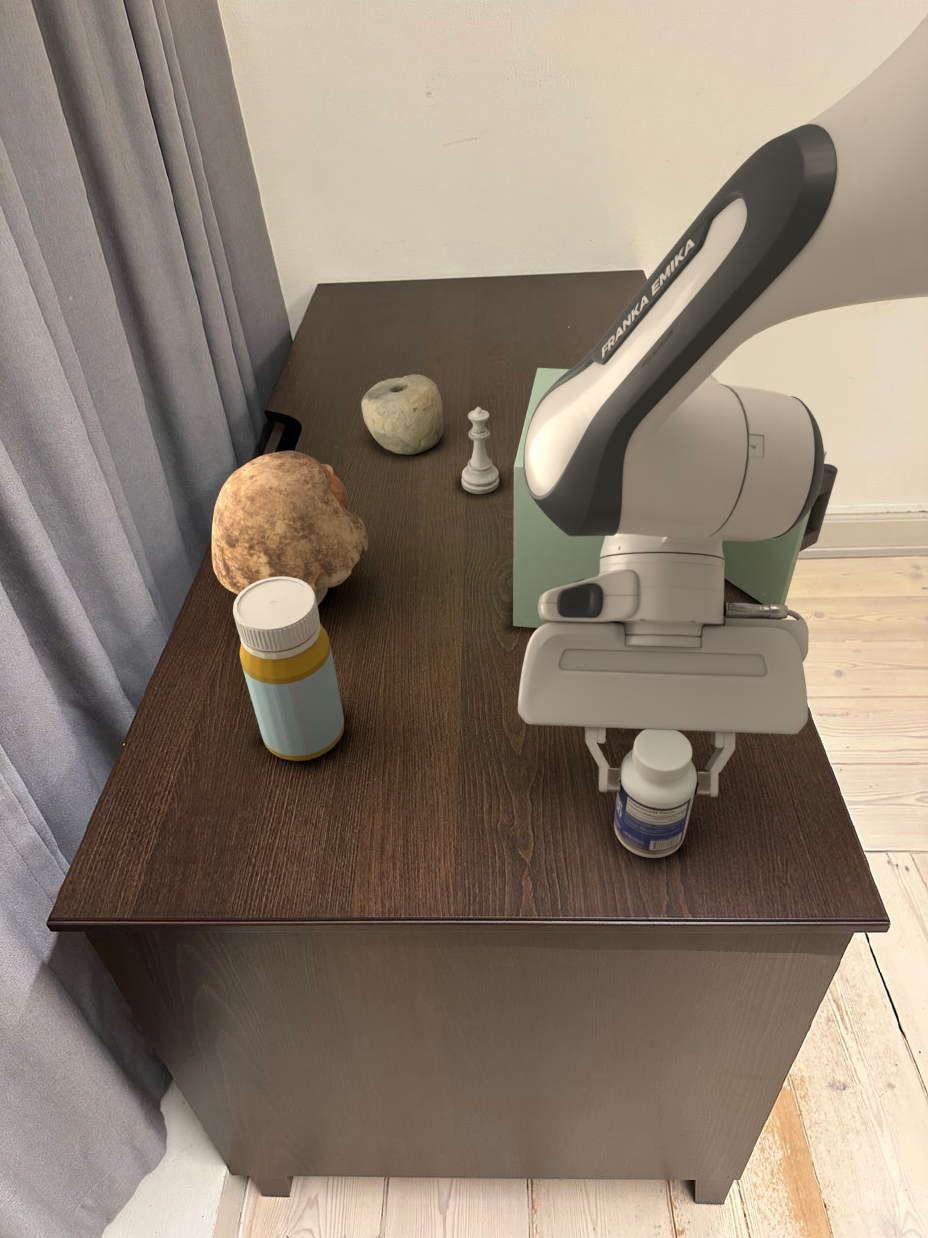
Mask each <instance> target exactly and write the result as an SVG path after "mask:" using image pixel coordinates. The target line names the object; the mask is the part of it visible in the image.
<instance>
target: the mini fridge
mask: <svg viewBox="0 0 928 1238" xmlns="http://www.w3.org/2000/svg"><path fill="white" fill-rule="evenodd" d="M570 369H571V368H551V367H548V368H547V367H537V369H536V372H535V377H534V380H533V386H532V389H531V394H530V399H529V401H528V407H527V411H526V415H525V418H524V423H523V428H522V431H521V435H520V440H519V444H518V448H517V454H516V456H515V459H514V465H513V570H512V571H513V583H512V588H513V589H512V591H513V593H512V594H513V596H512V597H513V599H512V600H513V601H512V604H513V605H512V609H513V610H512V612H513V613H512V624H513V625H512V626H514V627H522V628H533V629H538V628H539V627H540V626H542V625H544V624H546V622H544V621H542V620H541V619H540V617H539V613H538V602H539V599H540V597H541V595H542V594H544V593H545V592H547V591H549V590H551V589H554V588H558V587H561V586H565V585H568V584H572V583H574V582H575V581H578V580H582V579H590V578H593V577H597V576H598V574H600V553H601V549H602V546H603V543H604V539H605V536H568V535H567V534H565V533H564V532H563V531H562V530H561V529H560V528H558V527H557V526H556V525H555V524H554V523H553V522H552V521H551V520H550V519H549V518H548V517H547V516H546V515H545V514H544V512H543V511H542V510H541V509H540V508H539V506H538V505H537V504H536V503H535V501H534V500H533V498H532V497H531V495H530V494H529V492H528V490H527V488H526V484H525V480H524V473H523V454H524V445H525V439H526V435H527V430H528V427H529V423H530V420H531V418H532V415H533V413H534V410H535V408H536V406H537V404H538V403H539V401H540V399H541V398H542V397H543V395H544V394H545V393H546V392H547V391H548V389H549V388H550V387H551V386H552V385H553V384H554V383H555V382H556V381H557V380H558V379H559V378H560V377H561V376H563V375H564V374H565V373H566V372H567V371H568V370H570Z"/></svg>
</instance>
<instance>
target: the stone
mask: <svg viewBox="0 0 928 1238" xmlns="http://www.w3.org/2000/svg"><path fill="white" fill-rule="evenodd" d="M360 406H361V412H362V417H363V421H364V423H365V426H366V427H367V429H368V431H369V433H370V434H371V436H372V437H373V439H374V440H375V441H376V442H377V444H379V446H381V447H382V448H384V449H385V450H388V451H390V452H392V453H395V454H398V455H408V456H409V455H410V456H411V455H417V454H419V453H423V452H425V451H428V450H429V449H432V448H433V447H434V446H436V444H437V443H438V442H440V440H441V437H442V435H443V433H444V420H443V419H444V417H443V412H444V411H443V409H444V407H443V401H442V397H441V394H440V391H439V388H438V386H437V384H436V383H435V382H434V381H433V380H432V379H430V378H428V377H426V376H424V375H423V374H417V373H416V374H415V373H414V374H409V375H404V376H403V377H393V378H388V379H385V380H381V381H379V382H377V383H376V384H374V385H373V386H372V387H371V388H370V389H368V391H367V392H366V393H365V394H364V395H363V397H362V399H361V405H360Z"/></svg>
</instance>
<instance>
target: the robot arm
mask: <svg viewBox="0 0 928 1238" xmlns="http://www.w3.org/2000/svg"><path fill="white" fill-rule="evenodd" d="M927 297H928V13H927V14H926V15H925V17H924V18H923V19H922V20H921V22H920V23H919V24H918V25H917V26H916V27H915V29H913V31H911V33H910V34H909V35H908V36H907V38H905V39H904V41H903V42H902V43H901V44H900V45H899V46H898V47H896V49H895V50H894V51H893V52H892V53H891V54H890V55H889V56H888V57H887V58H886V59H885V60H884V61H883V62H882V63H881V64H880V65H878V66H877V67H876V68H875V69H874V70H873V71H872V72H871V73H870V74H869V75H867V76H866V78H864V79H863V80H862V81H861V82H859V84H857V85H856V86H855V87H854V88H853V89H851V90H850V91H849V92H848V93H846V94H845V95H844V96H843V97H842V98H840V99H839V100H837V101H836V102H835V103H834V104H832V105H830V106H829V107H828V108H827V109H825V110H824V111H822V112H821V113H819V114H818V115H817V116H815V117H814V118H812V119H810V121H808V122H806V123H805V124H802V125H800V126H797V127H795V128H792V129H791V130H789V131H786V132H785V133H782V134H780V135H778V136H776V137H774V138H772V139H771V140H768V141H767V142H766V143H764V144H763V145H762V146H761V147H759V148H758V149H757V150H756V151H755V152H753V153H752V154H751V155H750V156H749V157H748V158H747V159H746V160H745V161H744V162H743V163H742V164H741V165H740V166H739V167H738V168H737V169H736V171H734V173H732V175H731V176H729V178H728V180H726V182H725V183H724V184H723V185H722V186H721V187H720V189H719V190H717V192H716V193H715V195H713V197H712V198H711V199H710V201H708V203H707V204H706V205H705V207H704V208H703V209H702V210H701V211H700V213H698V215H697V216H696V218H695V219H694V220H693V221H692V222H691V224H690V225H689V226H688V227H687V229H686V230H685V231H684V233H683V234H682V235H681V236H680V237H679V239H678V240H677V241H676V242H675V244H674V246H672V248H671V249H670V250H669V252H668V253H667V254H666V255H665V257H664V258H663V259H662V260H661V262H660V263H659V264H658V265H657V267H656V268H655V269H654V270H653V272H652V273H651V274H650V276H649V277H648V278H647V280H646V281H645V282H644V283H643V284H642V285H641V287H640V288H639V289H638V291H637V292H636V293H635V294H634V295H633V297H632V298H631V299H630V301H629V302H628V303H627V305H625V307H624V309H623V310H622V311H621V312H620V313H619V315H618V316H617V318H616V319H615V320H614V321H613V322H612V324H611V325H610V326H609V327H608V329H607V330H606V331H605V332H604V333H603V335H602V336H601V338H599V340H598V341H597V342H596V343H595V345H594V346H593V347H592V349H590V351H589V352H588V353H587V354H586V355H585V356H584V357H582V358H581V359H580V360H579V361H578V362H577V363H576V364H575V365H573V366H571V368H569V369H570V370H568V371H567V372H566V373H565V374H564V375H563V376H561V377H560V378H559V379H558V380H557V381H556V382H555V383H554V384H553V385H552V386H551V387H550V388H549V389H548V391H547V392H546V393H545V394H544V395H543V397H542V398H541V399H540V401H539V403H538V404H537V406H536V408H535V410H534V413H533V415H532V418H531V420H530V423H529V427H528V430H527V435H526V439H525V445H524V454H523V473H524V480H525V484H526V488H527V490H528V492H529V494H530V495H531V497H532V498H533V500H534V501H535V503H536V504H537V505H538V506H539V508H540V509H541V510H542V511H543V512H544V514H545V515H546V516H547V517H548V518H549V519H550V520H551V521H552V522H553V523H554V524H555V525H556V526H557V527H558V528H560V529H561V530H562V531H563V532H564V533H565V534H567V535H568V536H605V539H604V543H603V546H602V549H601V553H600V574H598V576H597V577H593V578H590V579H582V580H578V581H575V582H574V583H572V584H568V585H565V586H561V587H558V588H554V589H551V590H549V591H547V592H545V593H544V594H542V595H541V597H540V599H539V602H538V613H539V617H540V619H541V620H542V621H544V622H546V624H544V625H542V626H540V627H539V628H536V629H535V630H534V632H533V633H532V635H531V636H530V638H529V640H528V642H527V645H526V648H525V653H524V658H523V663H522V667H521V674H520V680H519V690H518V700H517V713H518V715H519V717H520V718H521V719H522V720H523V721H524V722H525V724H527V725H530V726H553V727H555V726H557V727H581V728H584V743H585V745H586V746H587V748H588V750H589V752H590V753H591V756H592V757H593V759H594V761H595V763H596V764H597V766H598V790H599V792H600V793H616V794H617V793H620V791H621V784H620V782H619V780H620V778H621V765H613V764H609V763H608V761H607V760H606V757H605V756H604V754H603V751H602V750H601V748H600V746H599V744H605V743H606V735H607V729H608V728H610V729H611V728H612V729H631V730H632V729H633V730H634V729H635V730H645V729H662V730H676V731H688V732H709V744H710V745H711V746H712V747H714V748H716V749H715V750H714V752H713V754H712V755H711V757H710V759H709V760H708V762H707V764H706V765H705V767H704V768H695V769H696V773H697V783H696V789H695V794H694V796H695V797H704V798H705V797H708V798H718V796H719V773H721V772H722V770H723V769H724V767H725V766H726V764H727V762H728V761H729V760H730V758H731V757H732V755H733V753H734V752H735V750H736V734H737V733H740V734H741V733H742V734H765V735H766V734H767V735H797V734H798V733H799V732H800V731H801V730H802V729H803V728H804V726H806V724H807V723H808V720H809V709H808V708H809V705H808V704H809V703H808V692H807V690H808V689H807V682H806V674H805V669H804V661H805V660H806V658H807V656H808V653H809V632H810V631H809V627H808V624H807V621H806V620H805V619H804V618H803V617H802V615H801V614H799V613H798V612H796V611H794V610H792V609H789V608H788V605H786V604H785V605H783V604H767V605H764V604H756V603H751V602H750V603H749V602H732V601H728V602H726V601H725V578H724V563H725V561H724V560H725V559H724V554H723V549H722V543H723V541H741V542H754V541H760V540H765V539H770V538H778V537H781V536H783V535H784V534H786V533H787V532H789V531H790V530H791V529H793V528H794V527H795V526H796V525H797V524H798V523H799V522H800V521H801V520H802V519H803V518H804V517H805V516H806V515H807V514H808V512H809V511H810V509H811V508H812V506H813V505H814V503H815V501H816V499H817V497H818V494H819V491H820V488H821V485H822V480H823V473H824V464H825V460H824V451H825V448H824V441H823V436H822V432H821V430H820V427H819V424H818V422H817V420H816V418H815V416H814V415H813V414H814V413H812V411H811V410H810V408H809V407H808V405H806V404H805V402H804V401H802V400H801V399H800V398H799V397H797V396H794V395H788V394H786V393H782V392H779V391H775V390H772V389H764V388H757V387H749V386H741V385H732V384H724V383H721V382H720V381H719V380H718V379H717V378H716V377H715V376H714V375H713V373H714V372H715V371H716V370H717V369H718V368H719V367H720V366H721V365H722V364H723V363H724V362H725V361H726V360H727V359H728V358H729V357H730V356H731V355H732V354H733V353H734V352H735V351H736V350H737V349H738V348H739V347H740V346H741V345H743V344H744V343H746V342H747V341H748V340H750V339H751V338H753V337H754V336H756V335H758V334H760V333H762V332H764V331H766V330H768V329H769V328H773V327H774V326H776V325H779V324H782V323H784V322H787V321H790V320H792V319H796V318H800V317H803V316H806V315H807V316H808V315H810V314H811V315H812V314H814V313H819V312H823V311H829V310H832V309H833V310H834V309H837V308H844V307H849V306H855V305H856V306H857V305H862V304H863V305H864V304H872V303H877V302H878V303H879V302H886V301H894V300H904V299H906V300H907V299H916V298H917V299H918V298H927ZM788 616H789V617H792V618H794V619H787V618H788Z"/></svg>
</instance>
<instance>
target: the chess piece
mask: <svg viewBox="0 0 928 1238" xmlns="http://www.w3.org/2000/svg"><path fill="white" fill-rule="evenodd" d="M467 418H468V420H469V421H470V422H471V423H472V427H471V429H470V430H469V431H468V438H469V439H470V440H471V441H473V450H472V455H471V458H470V459H468V461H467V465H466V466H465V467H464V469H463V470H462V472H461V486H462V488H463V490H465V491H467V492H468V493H471V494H476V495H484V494H489V493H491V492H494V491H495V490H496V489H497V488H498V487H499V485H500V477H499V473H500V472H499V470H498V469H497V467H496V466H495V465H494V464H493V462H492V459H491V458H489V457H488V453H487V449H486V440H488V439H489V438H490V434H491V433H490V431H489V429H487V427H486V426H485V425H486V422H487V421H488V420H489V418H490V413H489V412H488V411H487V410H484V409H482V408H481V407H480V406H477V407H476V408H475V409H474V410H471V411H470V412H469V413H468V414H467Z"/></svg>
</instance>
